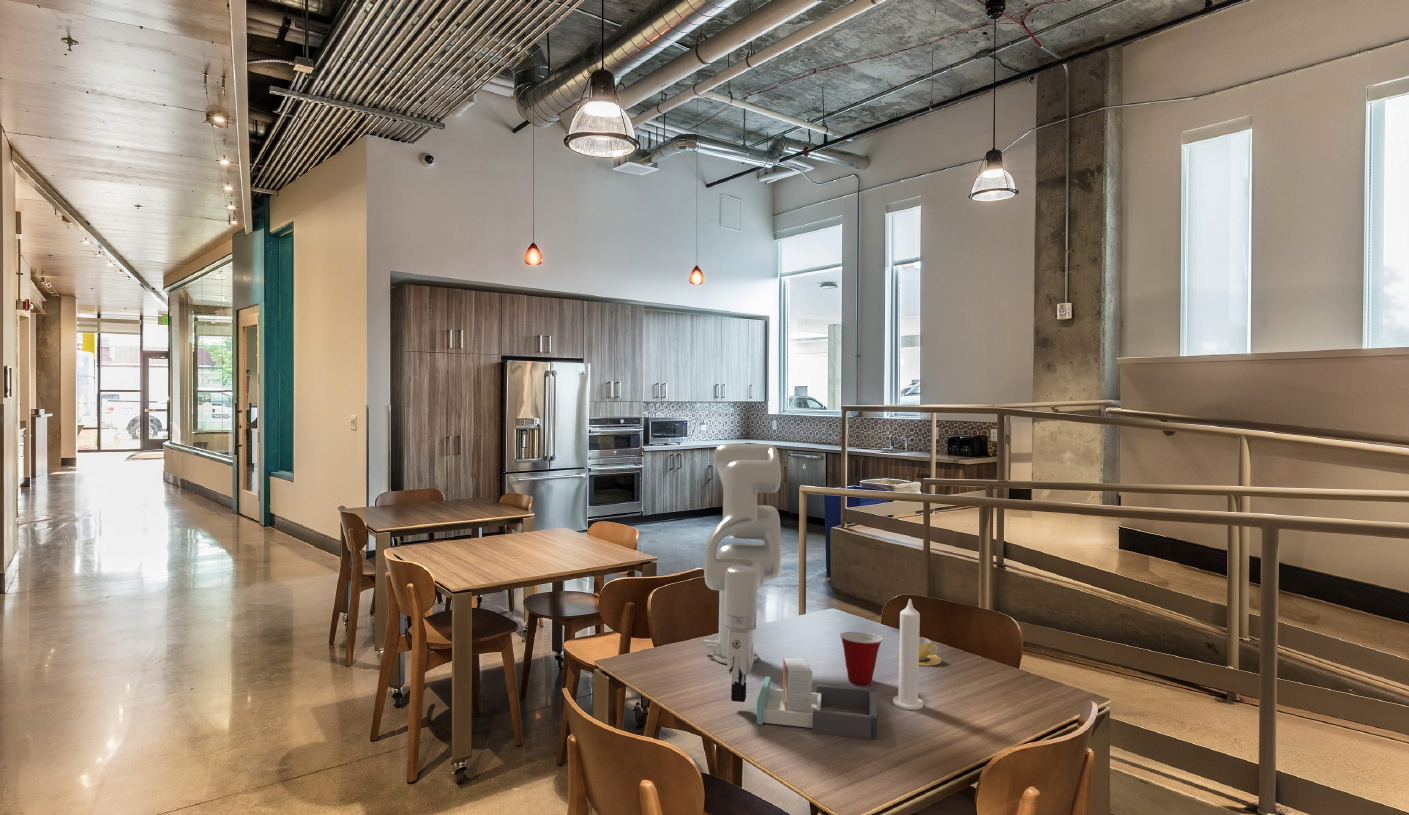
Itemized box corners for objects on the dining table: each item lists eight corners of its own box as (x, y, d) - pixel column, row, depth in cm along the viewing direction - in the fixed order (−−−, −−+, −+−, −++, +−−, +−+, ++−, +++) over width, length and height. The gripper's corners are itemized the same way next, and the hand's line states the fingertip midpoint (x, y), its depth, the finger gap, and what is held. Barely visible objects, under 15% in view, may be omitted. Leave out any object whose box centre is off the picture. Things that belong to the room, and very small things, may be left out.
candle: (924, 700, 175) (926, 596, 175) (922, 712, 168) (925, 604, 168) (893, 696, 177) (896, 593, 177) (891, 707, 170) (893, 600, 170)
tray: (756, 724, 159) (757, 701, 159) (764, 697, 174) (765, 676, 174) (818, 730, 156) (818, 707, 156) (821, 703, 171) (821, 681, 171)
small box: (782, 702, 169) (783, 657, 169) (806, 703, 169) (806, 657, 169) (786, 717, 161) (787, 669, 161) (811, 717, 161) (812, 670, 161)
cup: (894, 663, 201) (894, 643, 201) (899, 650, 212) (900, 631, 212) (939, 669, 197) (940, 649, 197) (942, 656, 208) (943, 637, 208)
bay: (812, 732, 156) (812, 711, 156) (816, 703, 172) (816, 684, 172) (876, 739, 153) (876, 718, 153) (874, 708, 169) (874, 689, 169)
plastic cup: (886, 678, 189) (887, 632, 189) (876, 692, 179) (877, 643, 179) (845, 670, 194) (846, 625, 194) (833, 684, 184) (834, 636, 184)
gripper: (751, 631, 159) (750, 715, 159) (760, 613, 174) (758, 689, 174) (718, 628, 161) (716, 711, 161) (729, 610, 176) (728, 686, 176)
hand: (738, 699), depth 167 cm, fingers closed
